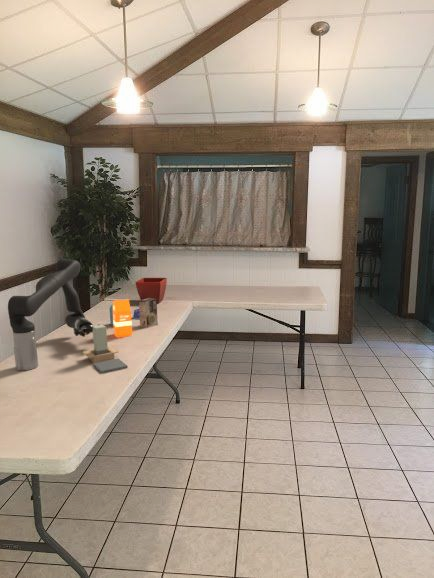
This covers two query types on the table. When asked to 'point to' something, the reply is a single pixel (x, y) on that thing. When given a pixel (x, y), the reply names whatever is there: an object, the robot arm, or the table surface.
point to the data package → (111, 315)
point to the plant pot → (151, 288)
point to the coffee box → (148, 312)
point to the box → (100, 340)
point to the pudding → (136, 314)
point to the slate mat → (110, 365)
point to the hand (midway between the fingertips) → (92, 333)
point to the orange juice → (122, 318)
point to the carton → (101, 357)
